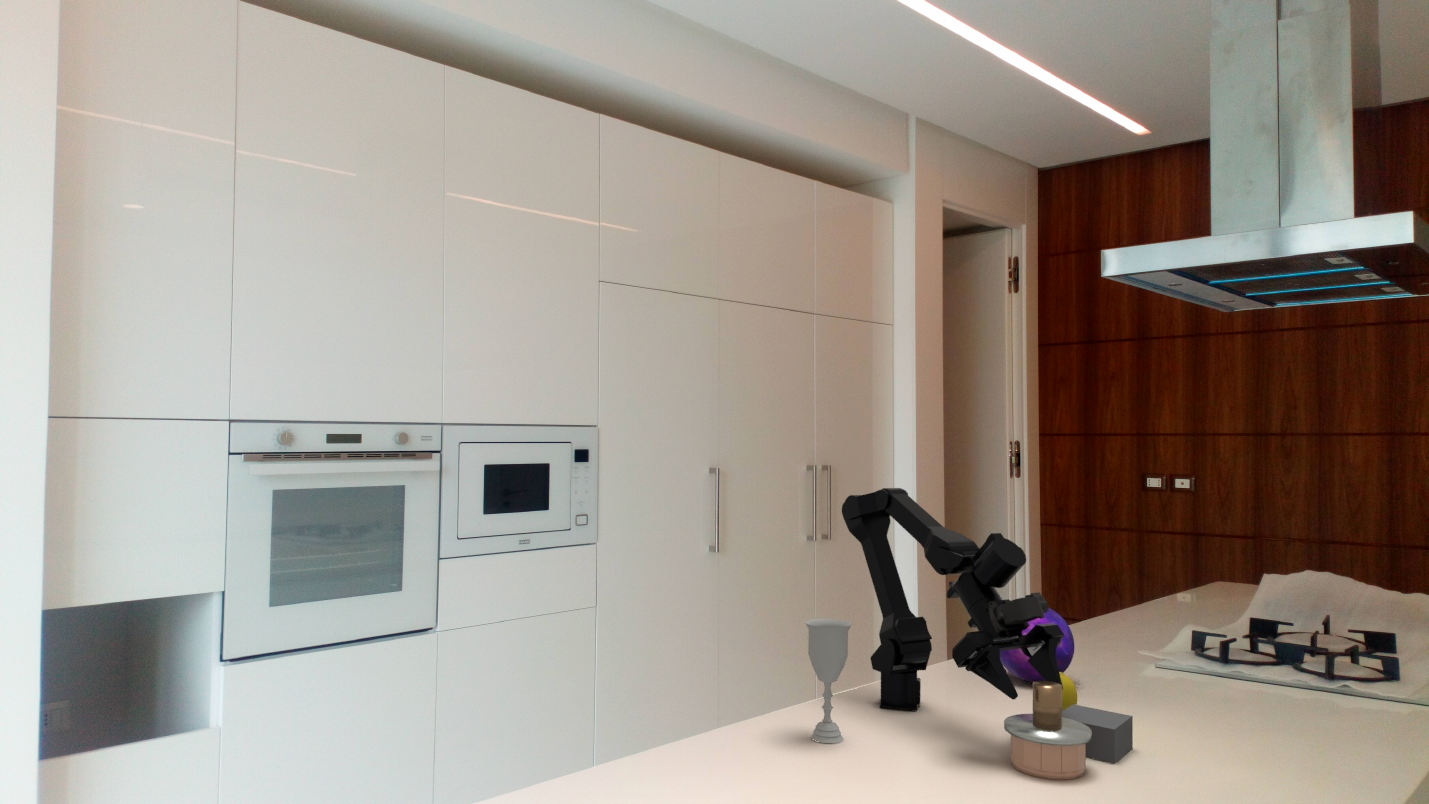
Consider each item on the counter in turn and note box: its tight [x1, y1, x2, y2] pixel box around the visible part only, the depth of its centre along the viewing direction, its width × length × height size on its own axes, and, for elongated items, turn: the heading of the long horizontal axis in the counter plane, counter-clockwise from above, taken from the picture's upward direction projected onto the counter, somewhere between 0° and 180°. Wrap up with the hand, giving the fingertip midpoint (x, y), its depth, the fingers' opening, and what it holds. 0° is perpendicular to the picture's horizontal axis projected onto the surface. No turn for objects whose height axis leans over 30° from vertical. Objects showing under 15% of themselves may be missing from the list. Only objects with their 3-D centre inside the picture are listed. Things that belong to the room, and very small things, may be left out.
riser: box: [1062, 704, 1134, 765], centre depth 140 cm, size 9×9×5 cm
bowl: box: [1010, 734, 1086, 780], centre depth 132 cm, size 10×10×5 cm
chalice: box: [804, 618, 852, 744], centre depth 143 cm, size 7×7×18 cm
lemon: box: [1059, 672, 1078, 711], centre depth 155 cm, size 6×6×8 cm
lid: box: [1003, 681, 1092, 746], centre depth 132 cm, size 12×12×7 cm
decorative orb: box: [1000, 607, 1075, 683], centre depth 180 cm, size 15×15×15 cm
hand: (1038, 694), depth 134 cm, fingers open, 9 cm apart
